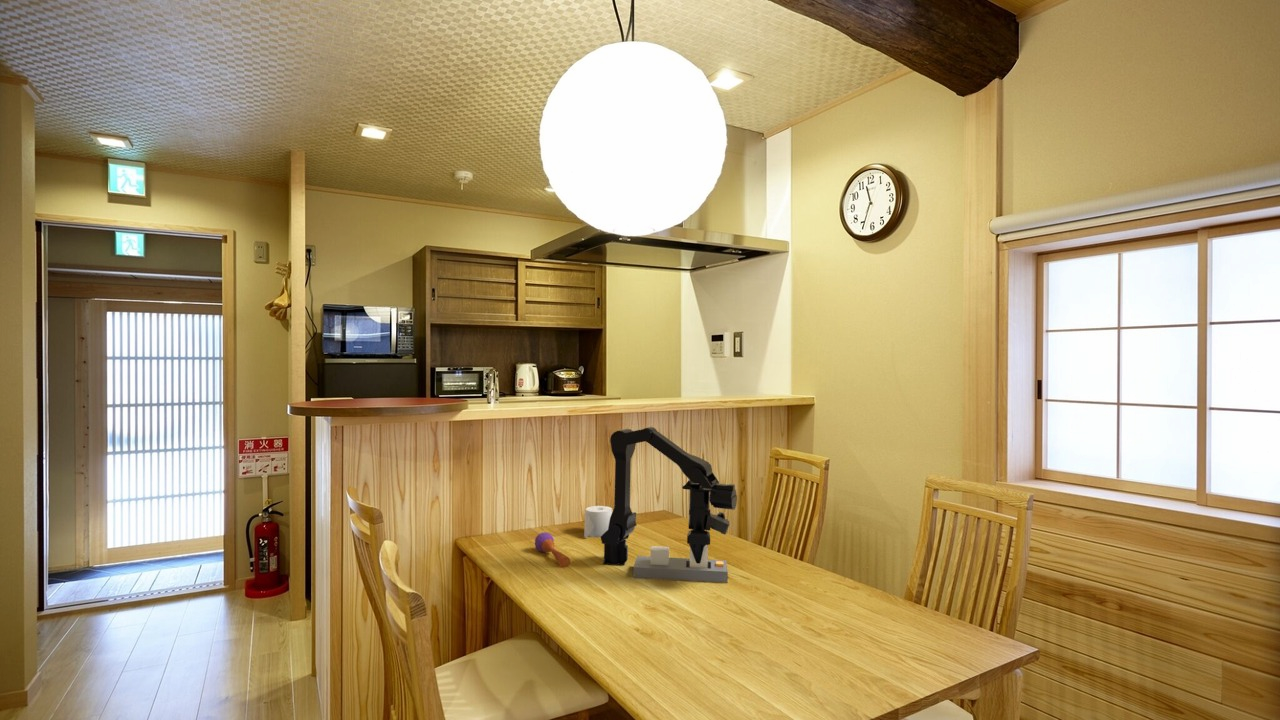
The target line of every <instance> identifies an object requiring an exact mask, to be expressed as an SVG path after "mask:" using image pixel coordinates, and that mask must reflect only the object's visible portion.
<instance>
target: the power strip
mask: <svg viewBox="0 0 1280 720" xmlns="http://www.w3.org/2000/svg"><path fill="white" fill-rule="evenodd" d="M727 564H728V561H727V560H726V559H725V560H724V559H709V558H708V568H690V557H689V558H687V557H685V558H683V557H670V547H669V546H660V545H659V546H655V545H652V546H651V548H650V556H646V555H645V556H644V555H643V556H642V555H637V556H636V559H635V562H634V564H633V573H632V574H633V576H632V577H633V579H645V580H664V579H666V580H667V581H683V580H685V581H686V582H703V581H705V582H706V583H722V582H724V583H727V584H728V579H729V577H728V573H729V571H728V565H727ZM666 580H665V581H666Z"/></svg>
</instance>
